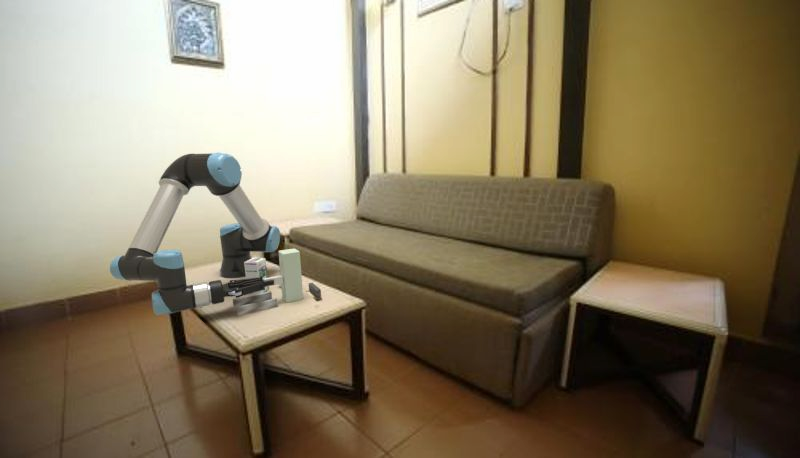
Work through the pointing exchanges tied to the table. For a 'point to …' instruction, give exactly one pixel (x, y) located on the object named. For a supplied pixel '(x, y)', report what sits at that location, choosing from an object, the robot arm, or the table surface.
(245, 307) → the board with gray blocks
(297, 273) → the block
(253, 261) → the syrup box
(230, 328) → the table surface
